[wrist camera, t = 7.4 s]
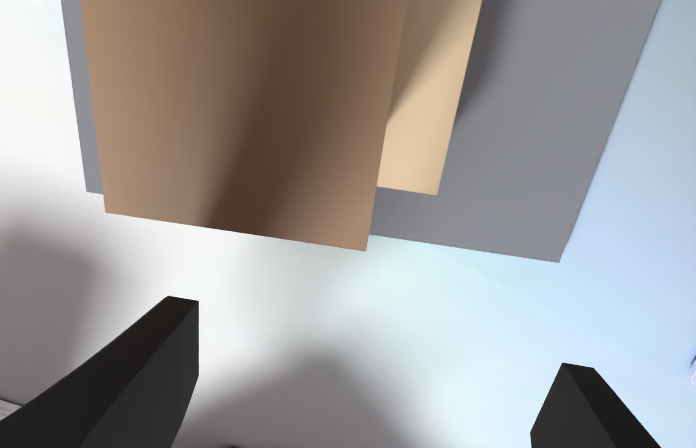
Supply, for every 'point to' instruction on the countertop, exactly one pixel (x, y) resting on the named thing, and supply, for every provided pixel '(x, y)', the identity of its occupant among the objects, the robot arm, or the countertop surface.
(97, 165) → the slate mat
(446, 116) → the oak base
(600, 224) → the countertop surface
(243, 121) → the walnut block
